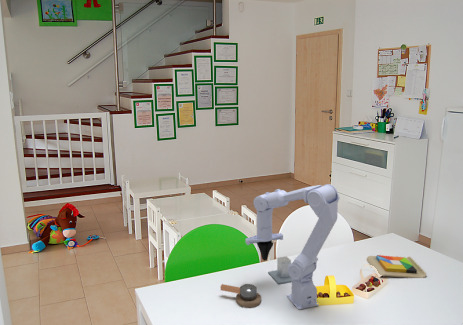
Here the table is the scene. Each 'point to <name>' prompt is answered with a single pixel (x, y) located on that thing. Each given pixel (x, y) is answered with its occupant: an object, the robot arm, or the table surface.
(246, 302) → the base
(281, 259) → the translucent grey block
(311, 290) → the robot arm
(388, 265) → the wooden puzzle
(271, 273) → the mat
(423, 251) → the table surface
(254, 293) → the small saucepan
